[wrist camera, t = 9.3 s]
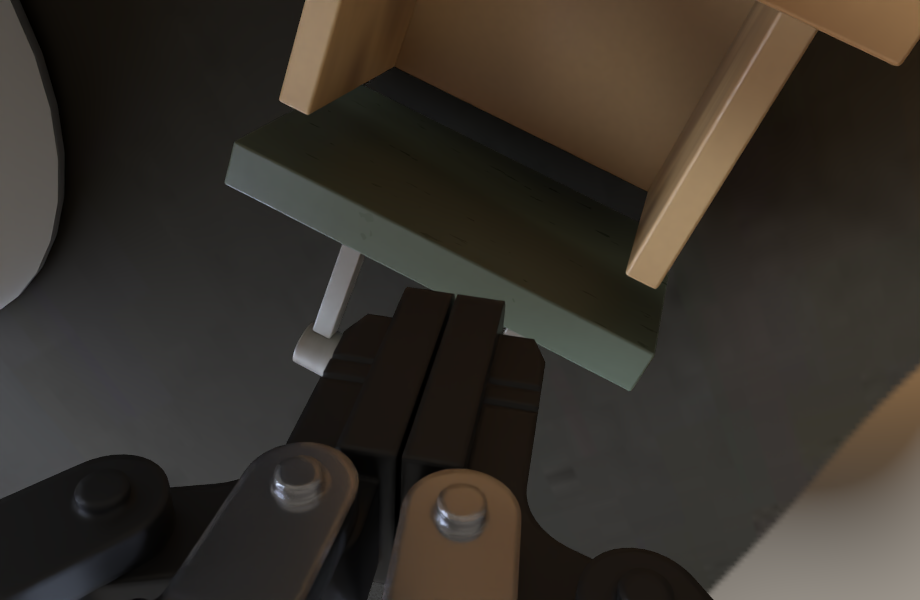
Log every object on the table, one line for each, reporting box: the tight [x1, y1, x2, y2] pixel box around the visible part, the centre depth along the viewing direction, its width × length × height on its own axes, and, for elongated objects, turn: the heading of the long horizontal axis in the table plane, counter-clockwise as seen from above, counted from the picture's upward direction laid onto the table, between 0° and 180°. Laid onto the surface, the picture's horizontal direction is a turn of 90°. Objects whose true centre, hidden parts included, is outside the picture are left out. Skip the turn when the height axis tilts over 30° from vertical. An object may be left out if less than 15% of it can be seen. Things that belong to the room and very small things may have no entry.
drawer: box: [225, 0, 818, 391], centre depth 20 cm, size 18×11×7 cm, turn 158°
